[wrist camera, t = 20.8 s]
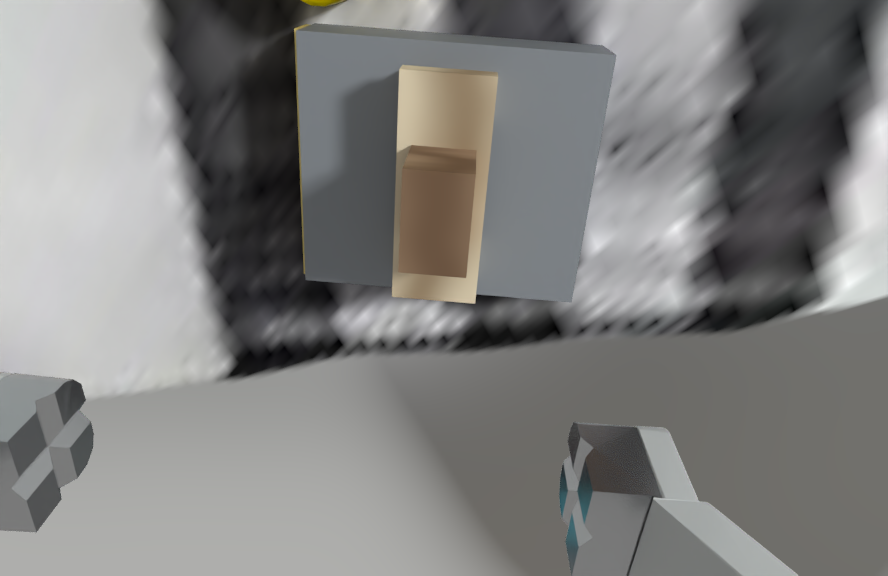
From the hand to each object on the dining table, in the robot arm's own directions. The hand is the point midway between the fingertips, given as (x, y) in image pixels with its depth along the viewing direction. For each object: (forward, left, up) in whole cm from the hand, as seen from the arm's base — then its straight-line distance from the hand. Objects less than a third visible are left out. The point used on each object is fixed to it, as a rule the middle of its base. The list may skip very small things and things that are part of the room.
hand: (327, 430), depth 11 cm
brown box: (+1, -4, -22) cm, 23 cm away
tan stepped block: (+1, -4, -25) cm, 26 cm away
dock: (+1, -4, -29) cm, 30 cm away
